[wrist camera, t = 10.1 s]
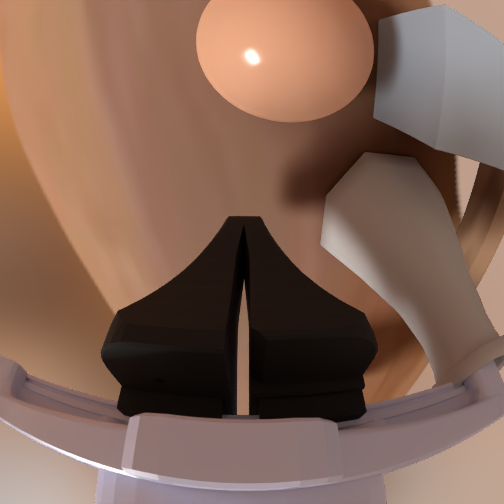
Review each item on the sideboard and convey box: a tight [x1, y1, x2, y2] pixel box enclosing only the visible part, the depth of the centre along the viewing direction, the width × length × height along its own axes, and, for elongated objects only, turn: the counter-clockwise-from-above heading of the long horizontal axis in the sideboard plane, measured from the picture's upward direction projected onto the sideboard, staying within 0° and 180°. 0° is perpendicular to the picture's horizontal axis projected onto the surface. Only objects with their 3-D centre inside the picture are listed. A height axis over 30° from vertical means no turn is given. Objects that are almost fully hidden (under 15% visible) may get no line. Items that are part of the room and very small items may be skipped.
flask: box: [320, 152, 504, 388], centre depth 9 cm, size 7×7×10 cm
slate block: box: [373, 5, 504, 170], centre depth 7 cm, size 5×5×5 cm
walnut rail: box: [457, 162, 504, 288], centre depth 11 cm, size 14×2×2 cm, turn 0°
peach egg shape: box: [196, 0, 374, 122], centre depth 7 cm, size 5×5×4 cm
